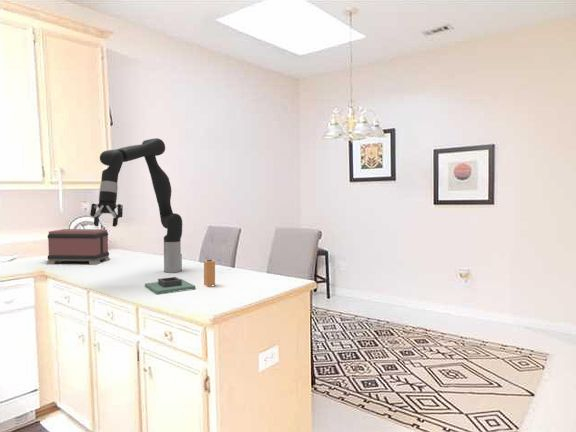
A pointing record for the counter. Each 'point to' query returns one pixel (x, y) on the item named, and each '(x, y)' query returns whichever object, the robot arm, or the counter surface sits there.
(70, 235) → the reddish brown chest
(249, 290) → the counter surface
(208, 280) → the plug
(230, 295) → the counter surface
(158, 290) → the board
